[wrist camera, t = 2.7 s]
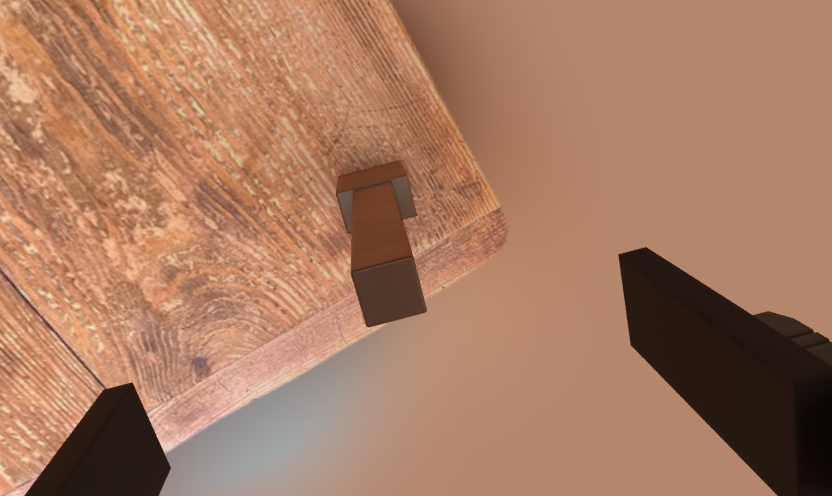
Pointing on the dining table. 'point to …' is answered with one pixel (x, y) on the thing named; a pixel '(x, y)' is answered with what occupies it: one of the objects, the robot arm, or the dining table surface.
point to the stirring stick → (381, 242)
